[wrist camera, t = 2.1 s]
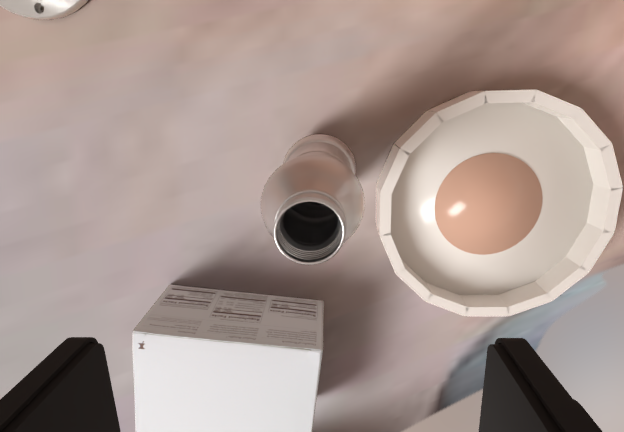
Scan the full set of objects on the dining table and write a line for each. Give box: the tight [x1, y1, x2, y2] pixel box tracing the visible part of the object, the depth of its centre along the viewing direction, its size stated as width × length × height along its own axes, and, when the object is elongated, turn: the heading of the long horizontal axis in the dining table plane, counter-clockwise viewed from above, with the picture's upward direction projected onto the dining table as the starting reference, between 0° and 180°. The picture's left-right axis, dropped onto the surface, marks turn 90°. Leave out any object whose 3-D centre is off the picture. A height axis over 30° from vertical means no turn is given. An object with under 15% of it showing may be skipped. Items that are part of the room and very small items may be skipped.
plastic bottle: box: [261, 134, 365, 265], centre depth 30 cm, size 6×7×20 cm
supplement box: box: [132, 285, 324, 432], centre depth 42 cm, size 17×13×9 cm
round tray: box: [376, 89, 623, 316], centre depth 39 cm, size 21×21×4 cm
